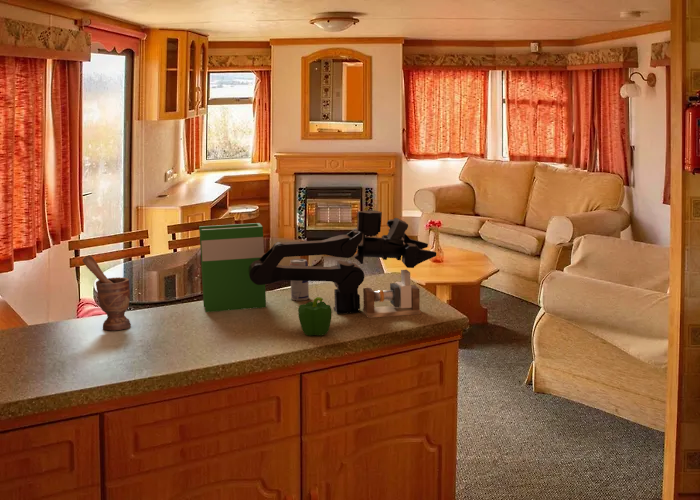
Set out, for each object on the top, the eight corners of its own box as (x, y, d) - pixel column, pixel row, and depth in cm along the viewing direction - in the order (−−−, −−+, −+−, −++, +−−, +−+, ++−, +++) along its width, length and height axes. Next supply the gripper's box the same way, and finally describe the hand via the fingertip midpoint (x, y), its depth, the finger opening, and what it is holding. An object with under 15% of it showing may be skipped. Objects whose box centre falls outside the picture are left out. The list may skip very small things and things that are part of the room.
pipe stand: (368, 317, 214) (367, 293, 212) (362, 311, 220) (362, 287, 219) (420, 313, 216) (420, 289, 215) (413, 307, 223) (413, 284, 222)
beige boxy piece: (401, 308, 215) (400, 273, 214) (395, 302, 221) (395, 269, 220) (411, 307, 216) (411, 273, 214) (405, 302, 222) (405, 268, 220)
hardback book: (205, 312, 223) (200, 230, 219) (203, 306, 230) (199, 226, 226) (266, 307, 227) (262, 226, 223) (262, 301, 234) (259, 223, 230)
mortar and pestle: (87, 334, 203) (80, 260, 200) (88, 325, 211) (82, 254, 208) (132, 330, 206) (127, 256, 203) (132, 321, 214) (127, 251, 211)
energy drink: (312, 297, 237) (311, 259, 235) (302, 301, 233) (300, 262, 230) (298, 295, 240) (296, 258, 238) (287, 299, 235) (286, 261, 233)
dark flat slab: (395, 307, 215) (395, 287, 214) (390, 302, 221) (390, 283, 220) (399, 307, 215) (399, 287, 214) (394, 302, 221) (394, 283, 220)
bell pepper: (294, 332, 201) (293, 294, 200) (323, 327, 205) (322, 291, 203) (306, 340, 194) (305, 301, 192) (336, 335, 197) (335, 297, 195)
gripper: (389, 228, 208) (444, 230, 211) (375, 212, 226) (426, 215, 229) (385, 267, 211) (439, 269, 214) (371, 249, 229) (422, 251, 232)
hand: (431, 249), depth 222 cm, fingers open, 9 cm apart
